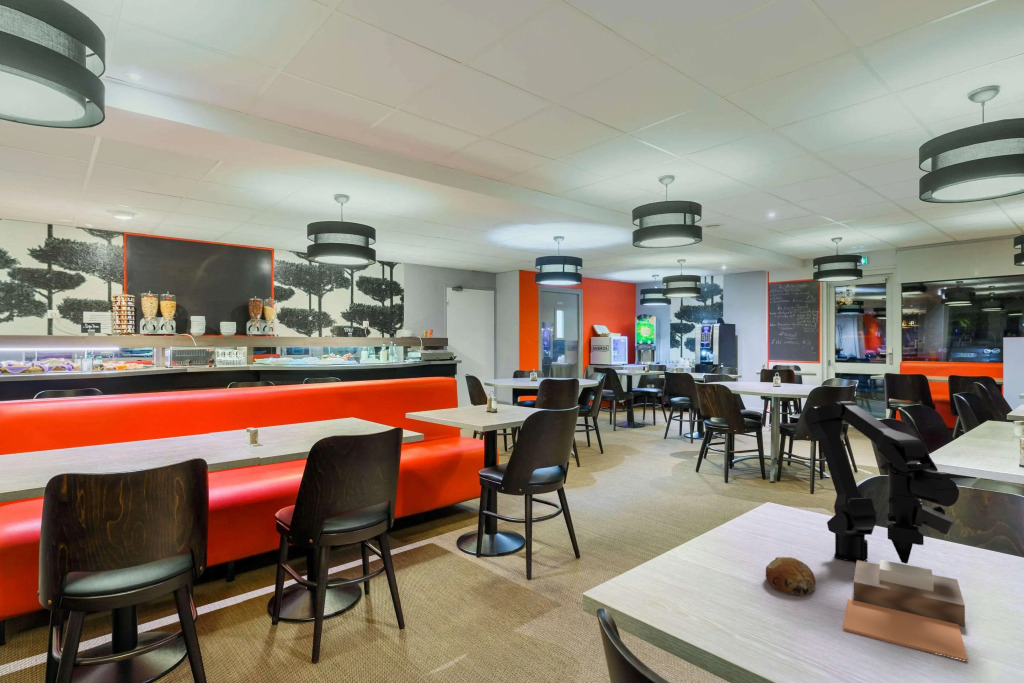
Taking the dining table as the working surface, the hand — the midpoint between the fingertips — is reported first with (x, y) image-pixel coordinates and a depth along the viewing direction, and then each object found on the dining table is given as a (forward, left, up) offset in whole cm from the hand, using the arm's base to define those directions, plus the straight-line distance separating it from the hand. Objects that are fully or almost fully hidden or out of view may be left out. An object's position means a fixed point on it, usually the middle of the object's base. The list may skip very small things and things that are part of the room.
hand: (904, 562), depth 121 cm
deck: (0, -9, -5) cm, 10 cm away
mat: (-1, -24, -5) cm, 24 cm away
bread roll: (-21, -16, -5) cm, 27 cm away
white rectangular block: (0, -9, 0) cm, 9 cm away
